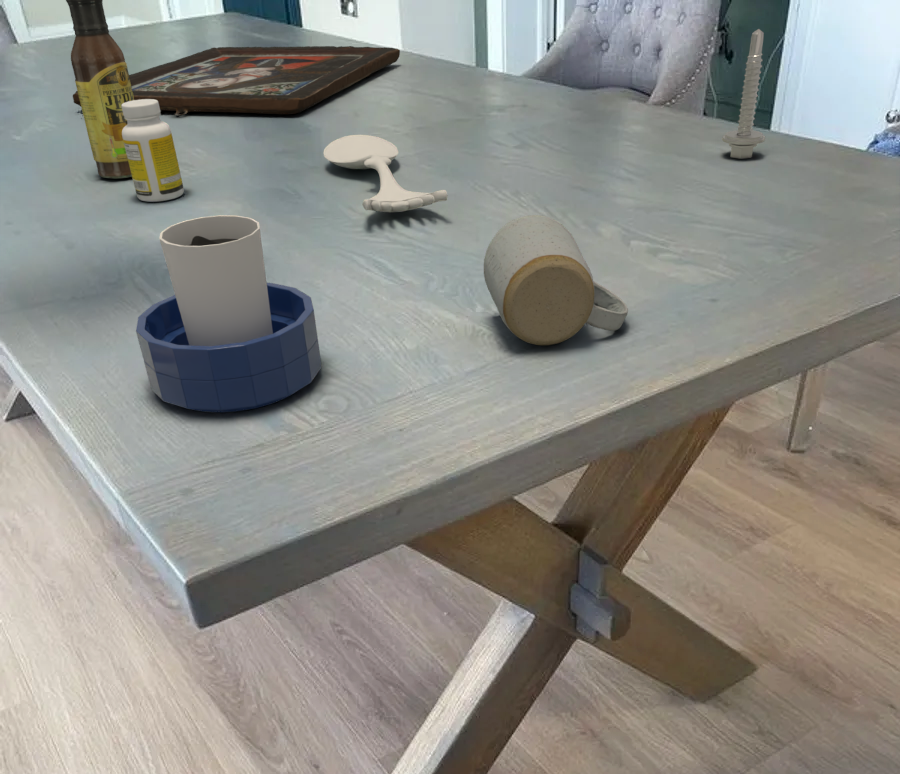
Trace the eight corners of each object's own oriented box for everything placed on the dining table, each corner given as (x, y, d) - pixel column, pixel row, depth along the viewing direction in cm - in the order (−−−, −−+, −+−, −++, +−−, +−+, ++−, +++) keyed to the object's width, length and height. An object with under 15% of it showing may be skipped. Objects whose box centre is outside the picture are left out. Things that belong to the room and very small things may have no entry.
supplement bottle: (188, 188, 111) (168, 96, 105) (180, 201, 107) (160, 105, 100) (142, 191, 111) (120, 99, 105) (133, 204, 106) (109, 109, 100)
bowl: (118, 394, 68) (99, 327, 64) (236, 334, 75) (224, 272, 72) (241, 433, 62) (227, 363, 59) (355, 364, 70) (347, 298, 67)
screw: (718, 160, 109) (722, 150, 113) (761, 162, 108) (763, 151, 112) (734, 32, 101) (737, 25, 105) (780, 31, 100) (782, 25, 104)
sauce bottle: (128, 183, 114) (81, -11, 102) (88, 179, 116) (37, -11, 104) (160, 169, 119) (119, -18, 106) (121, 166, 121) (76, -18, 108)
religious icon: (69, 114, 149) (63, 93, 147) (211, 63, 182) (208, 45, 180) (297, 119, 138) (294, 96, 136) (403, 64, 171) (402, 45, 169)
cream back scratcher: (365, 234, 94) (362, 198, 92) (319, 160, 118) (316, 130, 116) (452, 223, 95) (451, 188, 93) (389, 152, 120) (387, 122, 118)
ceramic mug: (501, 356, 69) (502, 251, 65) (482, 314, 76) (482, 216, 71) (639, 344, 70) (650, 240, 66) (609, 304, 77) (617, 207, 72)
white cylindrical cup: (182, 392, 66) (147, 248, 60) (203, 353, 71) (173, 217, 65) (275, 389, 66) (250, 244, 59) (290, 350, 71) (267, 213, 65)
